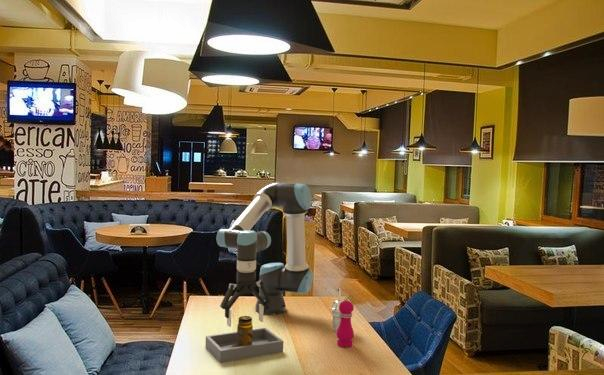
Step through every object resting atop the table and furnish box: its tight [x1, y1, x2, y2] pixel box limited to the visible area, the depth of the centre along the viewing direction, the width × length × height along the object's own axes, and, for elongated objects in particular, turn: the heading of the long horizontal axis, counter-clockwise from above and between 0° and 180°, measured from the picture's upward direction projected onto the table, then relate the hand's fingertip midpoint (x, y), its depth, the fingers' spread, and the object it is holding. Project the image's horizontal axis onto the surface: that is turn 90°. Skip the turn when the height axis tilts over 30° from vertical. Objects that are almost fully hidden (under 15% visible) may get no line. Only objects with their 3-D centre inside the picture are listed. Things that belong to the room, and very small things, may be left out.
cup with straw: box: [329, 287, 344, 333], centre depth 232 cm, size 8×9×20 cm
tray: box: [205, 327, 284, 364], centre depth 206 cm, size 26×17×4 cm, turn 119°
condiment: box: [229, 315, 254, 348], centre depth 205 cm, size 7×8×12 cm
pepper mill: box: [336, 296, 355, 349], centre depth 215 cm, size 7×7×20 cm
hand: (245, 323), depth 206 cm, fingers open, 13 cm apart
